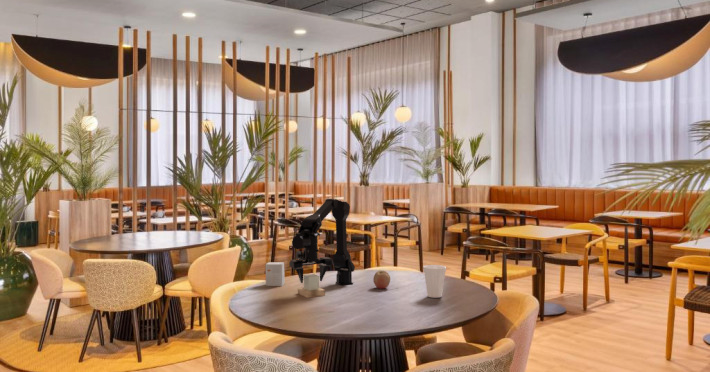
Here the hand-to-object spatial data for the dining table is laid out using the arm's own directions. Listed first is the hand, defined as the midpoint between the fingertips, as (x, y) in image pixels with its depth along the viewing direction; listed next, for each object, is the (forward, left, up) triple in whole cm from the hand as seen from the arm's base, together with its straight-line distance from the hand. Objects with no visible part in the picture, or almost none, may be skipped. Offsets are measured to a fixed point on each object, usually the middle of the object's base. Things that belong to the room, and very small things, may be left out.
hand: (311, 282), depth 258 cm
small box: (+6, -28, -6) cm, 29 cm away
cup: (-44, +31, -6) cm, 54 cm away
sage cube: (0, 0, -3) cm, 3 cm away
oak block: (0, 0, -6) cm, 6 cm away
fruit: (-34, +4, -6) cm, 35 cm away
